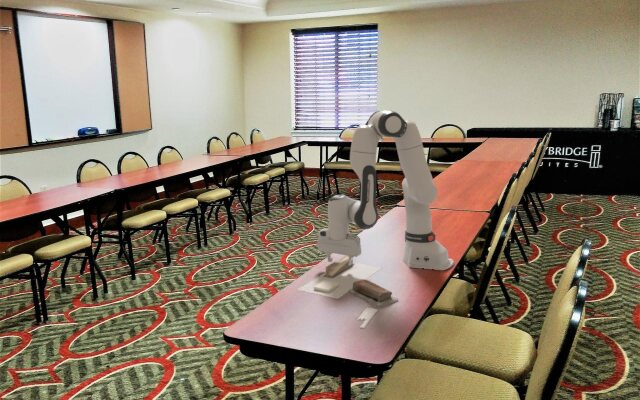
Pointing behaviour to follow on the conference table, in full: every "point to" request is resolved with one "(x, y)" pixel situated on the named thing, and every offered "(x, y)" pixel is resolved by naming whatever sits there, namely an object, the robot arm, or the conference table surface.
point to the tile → (326, 286)
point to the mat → (341, 280)
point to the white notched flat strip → (367, 316)
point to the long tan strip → (337, 266)
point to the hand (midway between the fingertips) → (339, 263)
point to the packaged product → (372, 293)
